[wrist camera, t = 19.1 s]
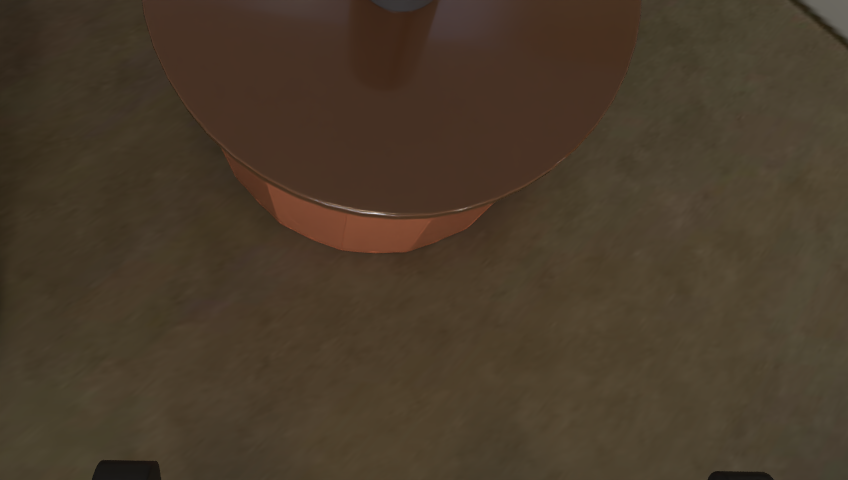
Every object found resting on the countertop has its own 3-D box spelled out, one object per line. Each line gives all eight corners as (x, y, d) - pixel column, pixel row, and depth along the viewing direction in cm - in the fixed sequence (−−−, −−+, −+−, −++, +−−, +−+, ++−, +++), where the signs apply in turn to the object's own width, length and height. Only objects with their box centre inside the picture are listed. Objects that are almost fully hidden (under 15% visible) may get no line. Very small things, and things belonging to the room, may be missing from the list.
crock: (573, 28, 34) (679, -115, 24) (460, 304, 32) (523, 276, 22) (296, -99, 34) (284, -301, 24) (159, 173, 31) (78, 81, 21)
